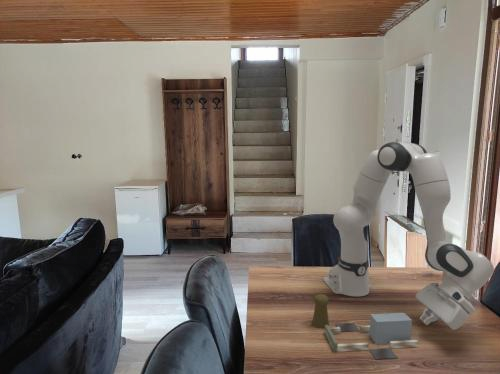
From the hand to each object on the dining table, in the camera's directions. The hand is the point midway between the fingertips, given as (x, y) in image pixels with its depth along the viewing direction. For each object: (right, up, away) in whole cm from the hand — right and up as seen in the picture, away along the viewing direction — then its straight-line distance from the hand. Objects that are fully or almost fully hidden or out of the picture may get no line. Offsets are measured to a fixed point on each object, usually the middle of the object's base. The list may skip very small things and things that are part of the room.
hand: (422, 321), depth 123 cm
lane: (-18, -6, -1) cm, 19 cm away
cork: (-33, -5, +10) cm, 35 cm away
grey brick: (-11, -6, 0) cm, 13 cm away
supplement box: (+23, -2, +25) cm, 34 cm away
